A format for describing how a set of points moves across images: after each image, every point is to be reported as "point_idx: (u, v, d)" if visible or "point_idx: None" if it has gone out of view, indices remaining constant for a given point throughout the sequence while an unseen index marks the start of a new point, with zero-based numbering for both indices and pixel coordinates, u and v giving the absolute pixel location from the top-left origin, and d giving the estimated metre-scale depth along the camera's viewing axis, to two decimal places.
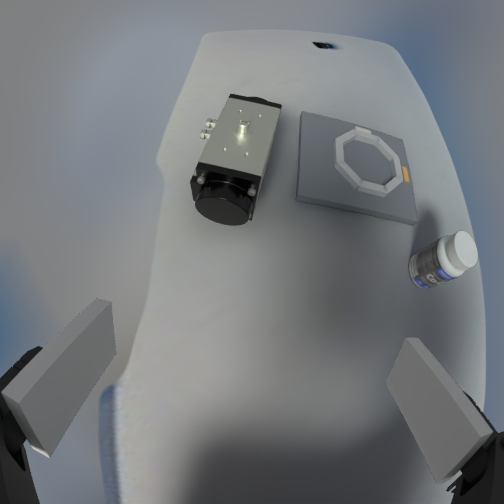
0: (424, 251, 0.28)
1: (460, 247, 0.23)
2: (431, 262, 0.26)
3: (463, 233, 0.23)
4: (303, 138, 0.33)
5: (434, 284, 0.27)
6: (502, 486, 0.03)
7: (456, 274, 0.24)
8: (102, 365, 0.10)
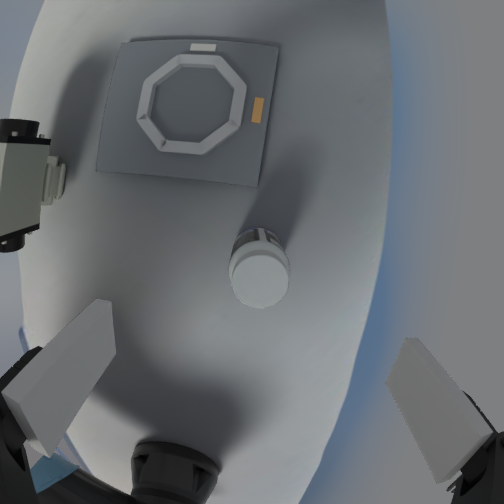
0: (235, 245, 0.24)
1: (244, 282, 0.19)
2: None
3: (261, 259, 0.19)
4: (111, 88, 0.22)
5: None
6: (502, 486, 0.03)
7: None
8: (102, 365, 0.10)
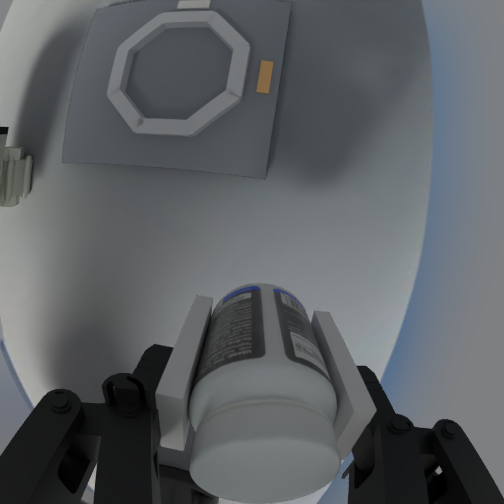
0: (209, 336, 0.10)
1: (222, 478, 0.05)
2: None
3: (270, 447, 0.05)
4: (81, 61, 0.15)
5: None
6: (400, 482, 0.04)
7: None
8: None
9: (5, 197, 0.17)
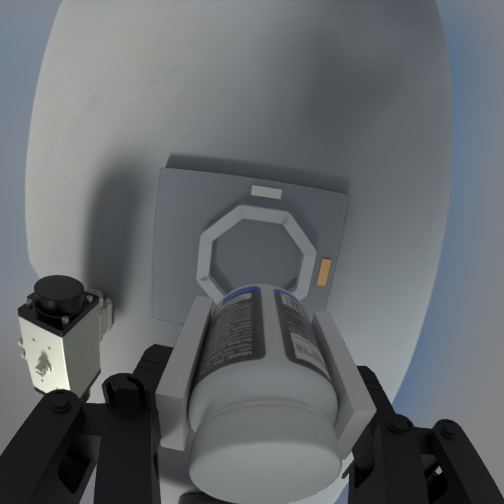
0: (209, 337, 0.10)
1: (222, 480, 0.05)
2: None
3: (271, 450, 0.05)
4: (157, 230, 0.24)
5: None
6: (400, 482, 0.04)
7: None
8: None
9: None
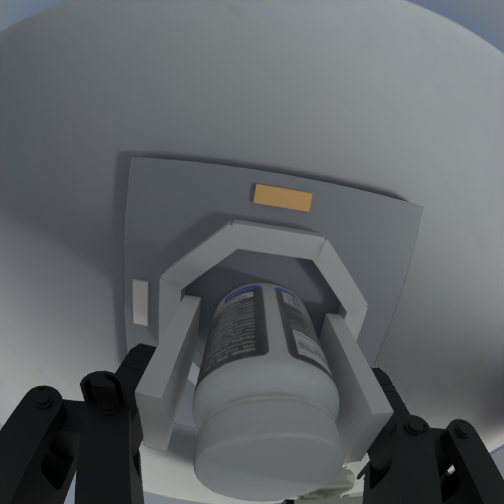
0: (212, 335, 0.10)
1: (226, 475, 0.06)
2: None
3: (275, 443, 0.05)
4: None
5: None
6: (416, 481, 0.04)
7: None
8: (192, 357, 0.12)
9: (349, 488, 0.16)
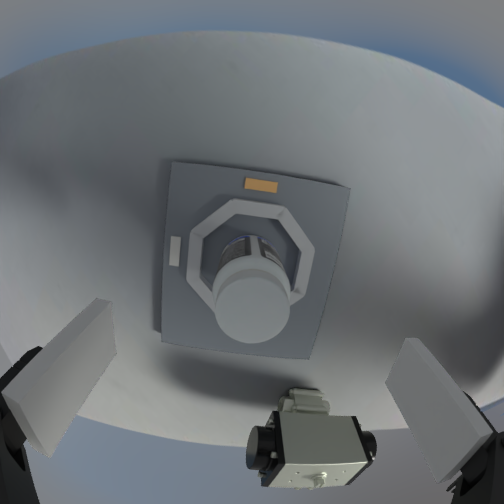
0: (222, 258, 0.19)
1: (231, 312, 0.15)
2: None
3: (253, 284, 0.14)
4: (218, 348, 0.25)
5: None
6: (502, 486, 0.03)
7: None
8: (102, 365, 0.10)
9: (324, 411, 0.25)
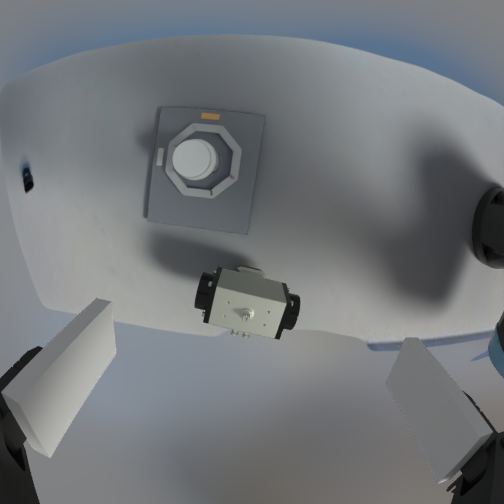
0: None
1: (180, 158, 0.27)
2: None
3: (191, 142, 0.27)
4: (184, 224, 0.38)
5: None
6: (502, 486, 0.03)
7: (191, 179, 0.30)
8: (102, 365, 0.10)
9: None
